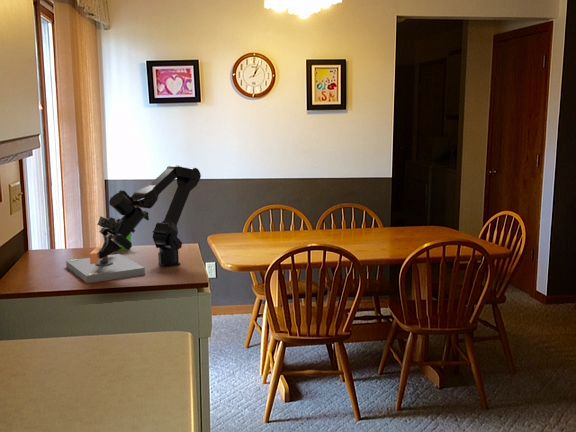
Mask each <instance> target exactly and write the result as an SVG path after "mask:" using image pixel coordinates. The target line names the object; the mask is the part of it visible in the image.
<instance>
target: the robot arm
mask: <svg viewBox="0 0 576 432" xmlns="http://www.w3.org/2000/svg"><path fill="white" fill-rule="evenodd" d="M201 177H202V175H201V172H200V169H198V168H197V167H183V166H180V165H177V164H176V165H172V164H171V165H169V166H167V167H166V169H164V171H163V172H162V173H161V174H160V175H158V177H156V178H155V179H154V180H153V181H152V182H151V183H150V184H148V185H146V186H144V187H142V188H140V189H138V190H136V191H135V192H134V193H132V195H131V196H130V195H129V194H128V193H127V192H126V190H119V191H118V193H115V194H114V195H113V196H111V197H110V199H109V202H108V203H109V206H110V207H112V208H113V209H114V211H116V213H118V214H119V215H120V216H122V217H121V218H117V219H116V218H115V217H111V216H109V217H108V218H107V217H105V216H99V220H98V222H97V226H100V228H101V229H100V230H99V233H100V235H102V238H103V241H104V244H103V246H102V248H101V251H100V254H99V258H100V259H102V258H104V257H106V256H108V255H113V254H114V253H116V252H118V251H121V250H120V249H122V248H121V246H123V247H124V248H125V249H126V250H125V251H128V252H129V250H131V248H132V247H133V245H132V241H131V242H130V241H129V240H128V239H126V238H127V237H128V236H129V235H130V234H131V232H132V234H134V233H135V232H136V230H135V229H136V228H137V227H138V225H139V224H140V223H141V221H143V220H145V221H149V220H150V217H149V212H148V211H146V210H143V209H152V208H153V207H154V206H155V204H156V203H157V202H158V199H159V196H160V194H161V193H162V192H163V191H164V190H165V189H166V188H167V187H169V186H170V185H171V184H172V183H173V182H174V181H175V180H176V185H177V188H176V190H175V193H174V195H173V198H172V200H171V202H170V204H169V208H168V210H167V212H166V215H165V217H164V219H163V220H162V221H161V222H156V224H155V227H154V230H153V231H152V233H153V234H152V240H153V243H154V245H155V248H157V249H159V251H158V264H159V265H161V266H163V267H166V268H167V267H171V266H178V265H181V264H182V263H181V262H179V259H180V258H179V256H180V255H179V249H182V247H183V246H182V245H183V242H182V241H181V239H180V238H178V235H179V232H178V223H179V221H180V218H181V215H182V213H183V210H184V208H185V205H186V203H187V200H188V198H189V196H190V192H191V191H192V190H194V189H195V188H196V187H197V186H198V184H199V182H200V181H201ZM132 234H131V235H132Z"/></svg>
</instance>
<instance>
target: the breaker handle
mask: <svg viewBox="0 0 576 432" xmlns="http://www.w3.org/2000/svg"><path fill="white" fill-rule="evenodd" d="M103 244H104V240H103V241H101V243H100V244H99V245H97V246H96V247H95V248H94V249H93V250H92V251H91V252H89V258H90V264H98V263H99V262H100V264H107V263H108V256H106V257H104V258H102V259H100V258H99V254H100V251H101V248H102V246H103Z"/></svg>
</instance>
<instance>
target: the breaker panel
mask: <svg viewBox="0 0 576 432" xmlns="http://www.w3.org/2000/svg"><path fill="white" fill-rule="evenodd" d="M65 263H66V264H65V266H66V268H67V269H68V270H70V271H71V272H72V273H73V274H75V275H76V276H77V277H79V278H80V279H82V280H83V281H84V282H85V283H86V284H92V283H97V282H105V281H110V280H116V279H124V278H125V279H126V278H130V277H137V276H144V275H146V271H145V270H146V269H145V267H144V266H143V265H140V264H138V263H137V262H135V261H133V260H131V259H129V258H127V257H126V256H124V255H123V254H120V253H116V254H109V255H108V263H107V264H100V262H99V263H98V264H90V257H86V258H75V259H69V260H65Z"/></svg>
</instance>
